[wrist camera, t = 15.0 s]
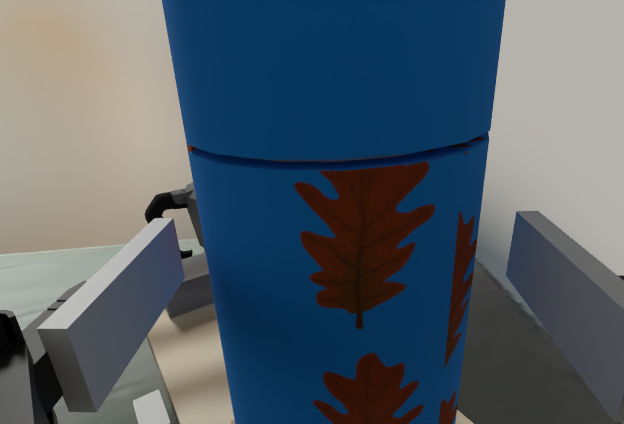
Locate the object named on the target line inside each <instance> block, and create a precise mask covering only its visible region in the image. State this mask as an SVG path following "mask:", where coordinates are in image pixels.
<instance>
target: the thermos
mask: <svg viewBox="0 0 624 424" xmlns="http://www.w3.org/2000/svg"><path fill="white" fill-rule="evenodd" d="M505 1H506V0H162V4H163V9H164V15H165V21H166V27H167V33H168V38H169V44H170V50H171V56H172V61H173V67H174V73H175V79H176V84H177V90H178V96H179V102H180V108H181V114H182V119H183V125H184V130H185V136H186V140H187V148H188V154H189V160H190V166H191V171H192V177H193V183H194V189H195V195H196V200H197V206H198V212H199V218H200V224H201V229H202V235H203V241H204V247H205V253H206V258H207V264H208V270H209V276H210V281H211V287H212V293H213V299H214V305H215V310H216V316H217V322H218V328H219V334H220V339H221V345H222V351H223V357H224V362H225V368H226V374H227V380H228V386H229V391H230V397H231V403H232V409H233V414H234V420H235V424H455V421H456V413H457V404H458V396H459V387H460V379H461V371H462V362H463V354H464V345H465V337H466V329H467V320H468V312H469V303H470V295H471V287H472V278H473V270H474V261H475V253H476V244H477V236H478V227H479V219H480V210H481V202H482V194H483V185H484V177H485V169H486V160H487V151H488V144H489V136H488V131H490V127H491V118H492V110H493V101H494V93H495V85H496V75H497V67H498V59H499V51H500V43H501V34H502V26H503V17H504V9H505Z"/></svg>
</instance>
